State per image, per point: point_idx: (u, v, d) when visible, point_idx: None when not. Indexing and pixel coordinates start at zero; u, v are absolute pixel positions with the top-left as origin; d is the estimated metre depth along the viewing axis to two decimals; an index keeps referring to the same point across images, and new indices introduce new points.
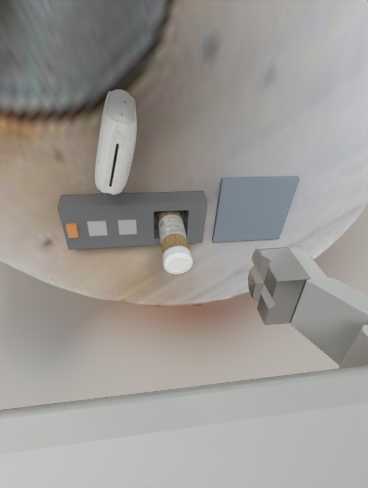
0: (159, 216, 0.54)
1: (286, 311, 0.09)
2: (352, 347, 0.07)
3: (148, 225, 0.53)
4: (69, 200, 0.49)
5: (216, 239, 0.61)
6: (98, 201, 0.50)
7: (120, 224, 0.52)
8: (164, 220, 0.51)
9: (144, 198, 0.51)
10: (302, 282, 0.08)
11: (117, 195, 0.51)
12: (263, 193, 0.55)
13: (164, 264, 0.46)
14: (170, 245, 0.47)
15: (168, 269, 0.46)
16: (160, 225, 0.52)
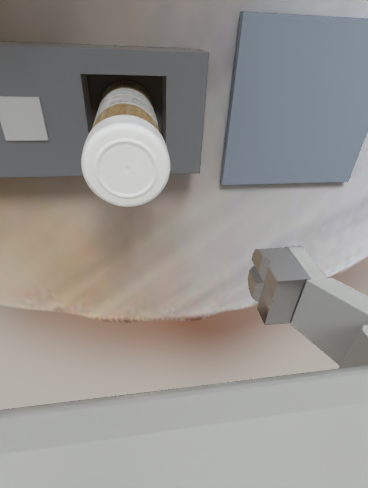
0: None
1: (286, 311, 0.09)
2: (352, 347, 0.07)
3: (72, 116, 0.23)
4: None
5: (228, 178, 0.31)
6: None
7: (2, 108, 0.21)
8: (107, 96, 0.21)
9: (59, 45, 0.21)
10: (302, 282, 0.08)
11: None
12: (330, 59, 0.25)
13: (84, 167, 0.15)
14: (105, 119, 0.16)
15: (98, 186, 0.16)
16: (98, 110, 0.22)
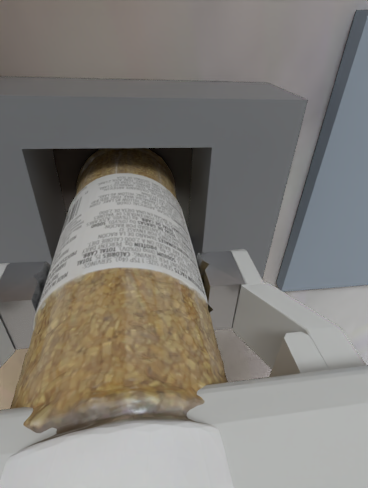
0: (77, 192, 0.12)
1: (225, 316, 0.09)
2: (277, 355, 0.07)
3: (14, 227, 0.11)
4: None
5: (292, 282, 0.19)
6: None
7: None
8: (83, 199, 0.10)
9: None
10: (237, 287, 0.08)
11: None
12: None
13: None
14: (49, 400, 0.04)
15: None
16: (64, 226, 0.10)
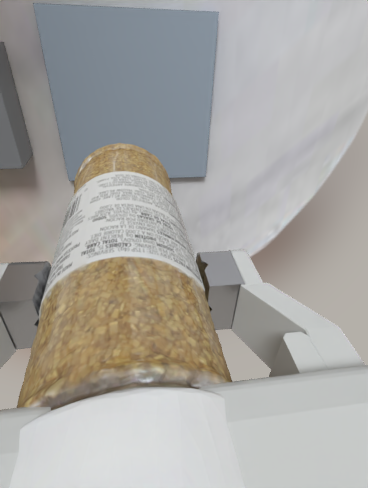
0: (75, 190, 0.12)
1: (225, 317, 0.09)
2: (277, 355, 0.07)
3: None
4: None
5: (73, 174, 0.30)
6: None
7: None
8: (83, 196, 0.10)
9: None
10: (237, 287, 0.08)
11: None
12: (144, 52, 0.25)
13: None
14: (62, 374, 0.05)
15: None
16: (64, 222, 0.10)
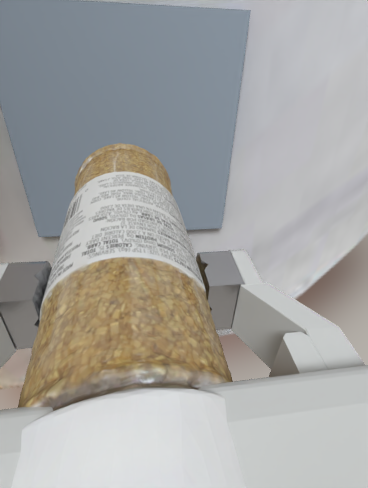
0: (76, 190, 0.12)
1: (225, 317, 0.09)
2: (276, 355, 0.07)
3: None
4: None
5: (45, 228, 0.22)
6: None
7: None
8: (84, 196, 0.10)
9: None
10: (236, 287, 0.08)
11: None
12: (140, 68, 0.17)
13: None
14: (63, 374, 0.05)
15: None
16: (64, 222, 0.10)
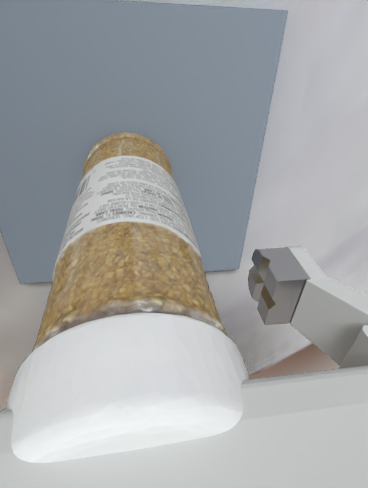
0: (84, 175, 0.13)
1: (286, 311, 0.09)
2: (352, 347, 0.07)
3: None
4: None
5: (27, 274, 0.18)
6: None
7: None
8: (92, 176, 0.11)
9: None
10: (302, 282, 0.08)
11: None
12: (144, 84, 0.13)
13: None
14: (76, 306, 0.06)
15: None
16: (74, 201, 0.11)
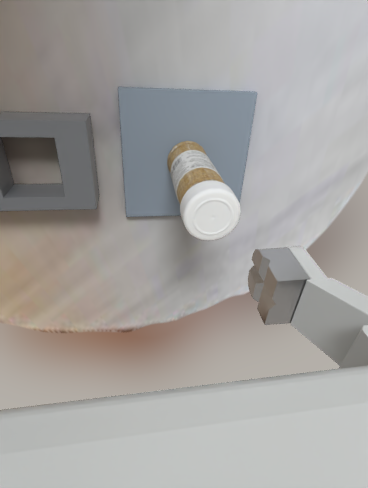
0: (172, 158, 0.32)
1: (286, 311, 0.09)
2: (352, 347, 0.07)
3: None
4: None
5: (131, 211, 0.37)
6: None
7: None
8: (182, 157, 0.29)
9: None
10: (302, 282, 0.08)
11: None
12: (197, 121, 0.32)
13: (185, 215, 0.23)
14: (196, 182, 0.24)
15: (192, 227, 0.23)
16: (174, 166, 0.30)
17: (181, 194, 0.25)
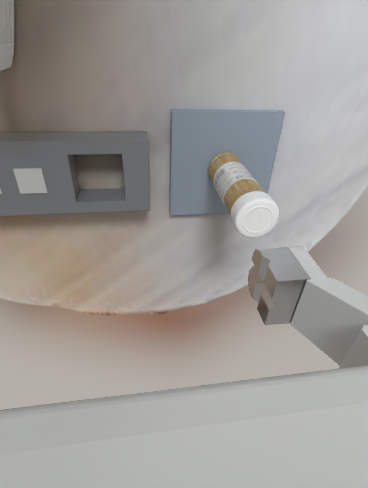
0: (213, 168, 0.38)
1: (286, 311, 0.09)
2: (352, 347, 0.07)
3: (63, 178, 0.36)
4: None
5: (174, 211, 0.43)
6: None
7: (18, 175, 0.34)
8: (225, 168, 0.36)
9: (54, 136, 0.34)
10: (302, 282, 0.08)
11: (15, 133, 0.35)
12: (234, 136, 0.38)
13: (237, 218, 0.30)
14: (244, 192, 0.31)
15: (242, 227, 0.30)
16: (218, 176, 0.36)
17: (230, 201, 0.32)
